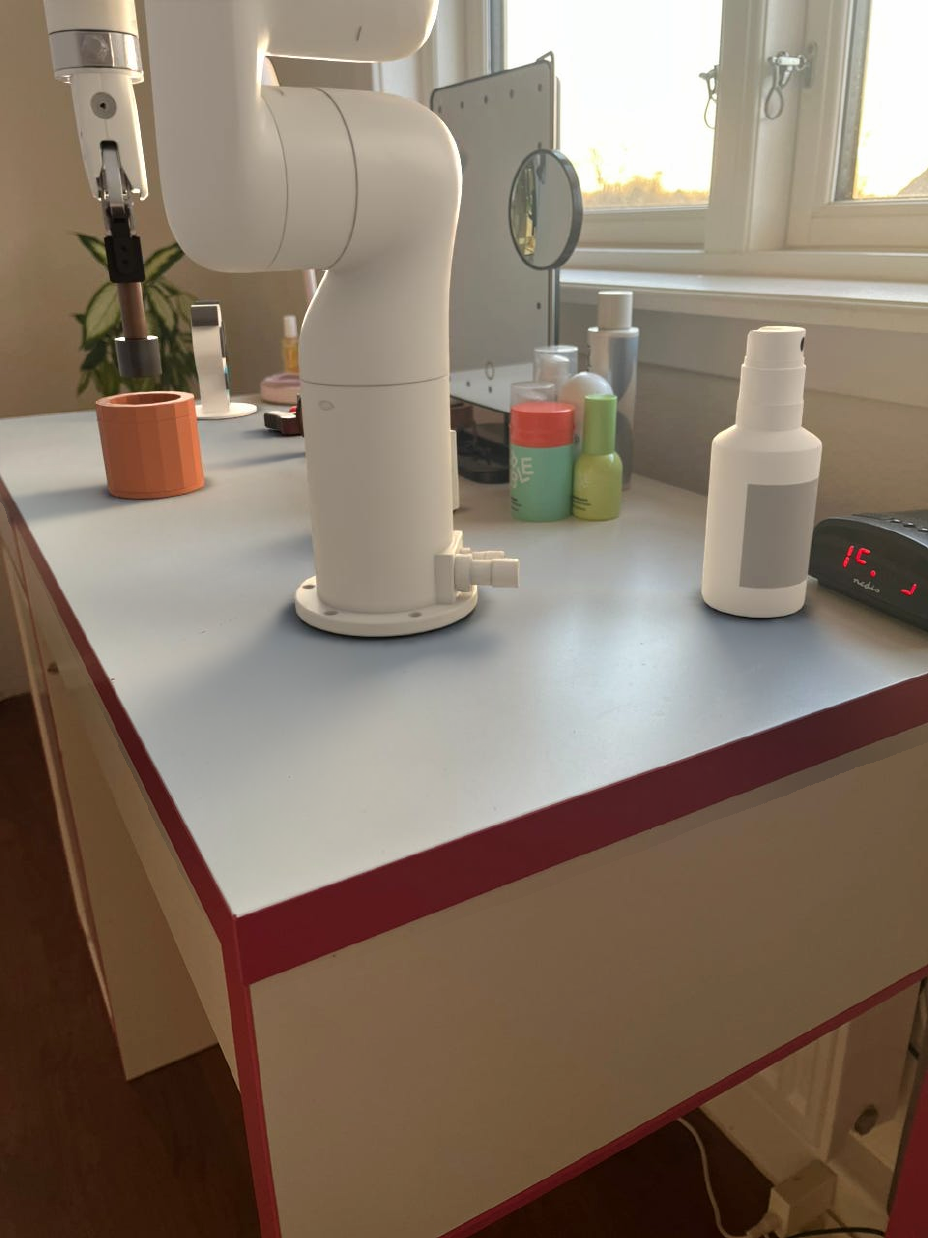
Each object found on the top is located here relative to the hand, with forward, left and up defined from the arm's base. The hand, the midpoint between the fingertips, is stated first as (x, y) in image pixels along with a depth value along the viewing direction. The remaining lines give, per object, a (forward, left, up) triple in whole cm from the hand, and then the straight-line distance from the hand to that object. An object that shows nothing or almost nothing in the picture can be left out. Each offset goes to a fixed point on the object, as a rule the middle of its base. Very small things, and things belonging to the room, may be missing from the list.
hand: (128, 279), depth 94 cm
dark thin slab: (-16, -16, -20) cm, 30 cm away
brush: (0, 0, -9) cm, 9 cm away
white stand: (+9, -43, -20) cm, 48 cm away
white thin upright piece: (-28, +8, -20) cm, 36 cm away
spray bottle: (-55, +30, -20) cm, 66 cm away
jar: (0, 0, -20) cm, 20 cm away
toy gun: (-8, -32, -20) cm, 39 cm away
